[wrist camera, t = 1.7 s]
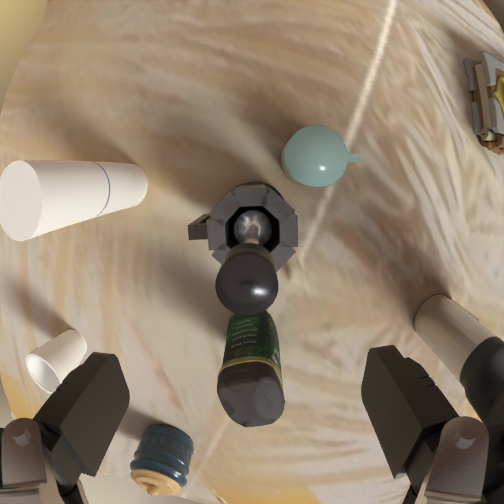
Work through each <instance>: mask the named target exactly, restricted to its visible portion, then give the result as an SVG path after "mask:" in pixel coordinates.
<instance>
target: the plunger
mask: <svg viewBox="0 0 504 504" xmlns="http://www.w3.org/2000/svg"><path fill="white" fill-rule="evenodd" d="M234 233H235V236H236V238H237V240H238V241H239V242H240V243H241V244H239V245H236V246H235V247H233V248H232V249H231V250H230V251H229V252H228V253H227V255H226V256H225V258H224V261H223V263H222V266H221V268H220V271H219V273H218V275H217V278H216V293H217V296H218V298H219V300H220V301H221V303H222V304H223V305H224V306H225V307H226V308H227V309H229V310H230V311H232V312H234V313H237V314H240V315H254V314H258V313H261V312H263V311H264V310H266V309H267V308H268V307H270V306H271V304H272V303H273V302H274V300H275V298H276V296H277V293H278V280H277V274H276V268H275V263H274V260H273V257H272V255H271V254H270V252H269V251H268V250H267V249H266V248H264V247H263V245H264V244H265V243H266V242H267V241H268V240H269V238H270V236H271V233H272V226H271V222H270V220H269V218H268V217H267V216H266V215H265V214H264V213H262V212H261V211H258V210H249V211H246V212H244V213H242V214H241V215H240V216H239V217H238V219H237V220H236V222H235V225H234Z"/></svg>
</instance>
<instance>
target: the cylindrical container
mask: <svg viewBox="0 0 504 504" xmlns="http://www.w3.org/2000/svg"><path fill="white" fill-rule="evenodd" d="M147 188H148V181H147V177H146V174H145V173H144V171H143V170H142V169H141V168H140V167H139V166H137V165H135V164H129V163H114V162H95V161H64V160H19V161H15V162H13V163H11V164H9V165H8V166H7V167H6V169H5V170H4V171H3V173H2V175H1V177H0V224H1V226H2V228H3V229H4V231H5V232H6V234H7V235H8V236H9V237H11V238H12V239H13V240H16V241H25V240H27V239H30V238H33V237H36V236H39V235H42V234H45V233H47V232H50V231H53V230H56V229H60V228H63V227H66V226H69V225H72V224H75V223H78V222H82V221H85V220H88V219H92V218H95V217H98V216H102V215H105V214H108V213H112V212H115V211H119V210H123V209H126V208H130V207H134V206H136V205H138V204H139V203H140V202H141V201H142V200H143V199H144V197H145V195H146V192H147Z"/></svg>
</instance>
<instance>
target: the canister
mask: <svg viewBox="0 0 504 504" xmlns="http://www.w3.org/2000/svg"><path fill="white" fill-rule="evenodd" d="M193 451H194V447H193V441H192V440H191V438H190V437H189V436H188V435H187V434H185V433H184V432H182V431H181V430H179V429H176V428H174V427H171V426H167V425H160V424H156V425H151V426H148V427H147V428H146V429H145V431H144V432H143V433H142V436H141V440H140V443H139V445H138V448H137V450H136V451H135V453H134V458H135V459H134V460H133V461H132V462H131V463H130V468H131V470H132V472H131V477H132V479H133V480H134V481H135V482H136V483H137V484H138V485H139V486H140V487H141V488H143V489H144V490H146V491H147V492H148V493H149V494H150V495H152V496H156V495H172V494H177V493H179V492H180V491H181V488H182V487H184V486H185V485H186V483H187V480H186V478H185V476H187V475H188V473H189V465H190V461H191V456H192V455H193Z"/></svg>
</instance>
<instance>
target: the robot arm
mask: <svg viewBox="0 0 504 504" xmlns="http://www.w3.org/2000/svg"><path fill="white" fill-rule="evenodd" d="M414 327H415V330H416V332H417V333H418V334H419V336H420V337H421V338H422V339H423V340H424V341H425V342H426V344H427V345H428V346H429V347H430V348H431V349H432V350H433V351H434V353H435V354H436V355H437V356H438V357H439V358H440V359H441V361H442V362H443V363H444V364H445V365H446V366H447V368H448V369H449V370H450V371H451V372H452V373H453V375H454V376H455V377H456V378H457V379H458V381H459V382H460V383H461V384H462V386H463V387H464V388H465V394H466V397H467V399H468V401H469V402H470V404H471V405H472V407H473V408H474V410H475V411H476V413H477V415H478V416H479V418H480V419H481V421H482V422H480V421H479V420H477V419H475V418H472V417H467V416H462V417H460V416H459V415H458V414H457V412H456V411H455V410H454V408H453V407H452V405H451V404H450V403H449V401H448V400H447V399H446V397H445V396H444V395H443V393H442V392H441V391H440V389H439V388H438V387H437V386H435V383H434V381H433V380H432V379H431V377H429V375H428V373H427V372H426V371H425V369H424V368H423V367H422V366H421V365H420V364H419V363H417V362H415V361H414V360H412V359H411V358H409V357H408V358H404V357H403V356H402V355H401V353H400V352H399V351H398V349H397V348H396V347H395V346H394V345H388V346H382V347H376V348H371V349H370V350H369V352H368V356H367V361H366V367H365V372H364V377H363V381H362V387H361V395H362V401H363V404H364V406H365V409H366V411H367V413H368V416H369V418H370V420H371V423H372V425H373V427H374V430H375V432H376V435H377V437H378V440H379V442H380V444H381V447H382V449H383V452H384V454H385V457H386V459H387V462H388V464H389V467H390V469H391V472H392V475H393V477H394V479H396V478H400V477H403V476H406V475H407V476H408V478H409V480H410V482H409V484H408V485H407V488H406V490H405V492H404V495H403V497H402V499H401V501H400V504H504V342H503V341H502V340H501V339H500V338H498V337H497V336H496V335H495V334H494V333H492V332H491V331H490V330H489V329H487V328H486V327H485V326H484V325H482V324H481V323H480V322H479V319H478V318H477V317H475V316H474V315H473V314H471V313H470V312H469V311H467V310H466V309H465V308H463V307H462V306H461V305H459V304H458V303H457V302H455V301H454V300H453V299H451V300H450V299H449V298H447V297H446V296H444V295H440V294H439V295H434V296H432V297H430V298H428V299H427V300H426V301H425V302H424V303H423V304H422V305H421V306H420V308H419V309H418V311H417V313H416V316H415V321H414ZM129 400H130V395H129V389H128V387H127V384H126V381H125V378H124V375H123V372H122V369H121V366H120V363H119V360H118V358H117V356H116V355H114V354H108V353H99V352H93V353H92V354H91V355H90V356H89V357H88V358H87V360H86V361H85V362H84V363H83V365H80V366H78V367H77V368H75V369H74V370H72V371H71V372H69V374H68V375H67V376H66V377H65V378H64V380H63V381H62V384H61V383H60V385H59V386H58V387H57V388H56V392H55V391H54V392H53V393H52V395H51V396H50V397H49V398H48V400H47V401H46V402H45V404H44V405H43V406H42V407H41V409H40V410H39V411H38V413H37V414H36V415H35V417H34V418H33V419H30V418H19V419H16V420H13V421H12V422H10V423H9V424H8V425H7V426H6V427H5V428H0V504H89V503H88V500H87V498H86V495H85V492H84V489H83V486H82V483H81V481H80V480H79V479H78V478H79V476H80V474H81V473H84V474H87V475H90V476H93V477H95V475H96V473H97V471H98V469H99V467H100V464H101V462H102V460H103V458H104V456H105V454H106V451H107V449H108V447H109V445H110V443H111V441H112V439H113V437H114V434H115V432H116V430H117V428H118V426H119V424H120V422H121V420H122V418H123V416H124V414H125V412H126V410H127V408H128V405H129Z"/></svg>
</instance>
